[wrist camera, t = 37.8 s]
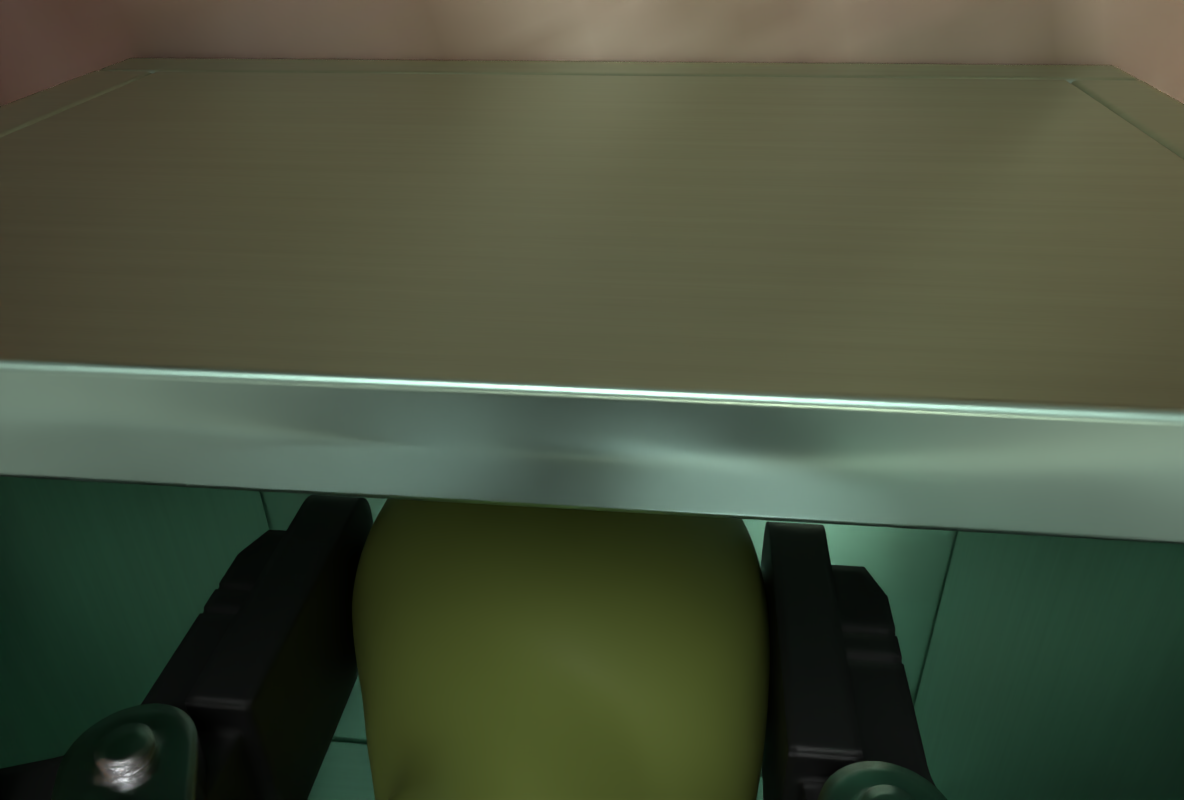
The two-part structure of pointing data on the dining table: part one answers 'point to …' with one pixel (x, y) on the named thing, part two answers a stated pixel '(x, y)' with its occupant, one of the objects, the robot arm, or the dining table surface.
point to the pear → (560, 654)
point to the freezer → (614, 358)
